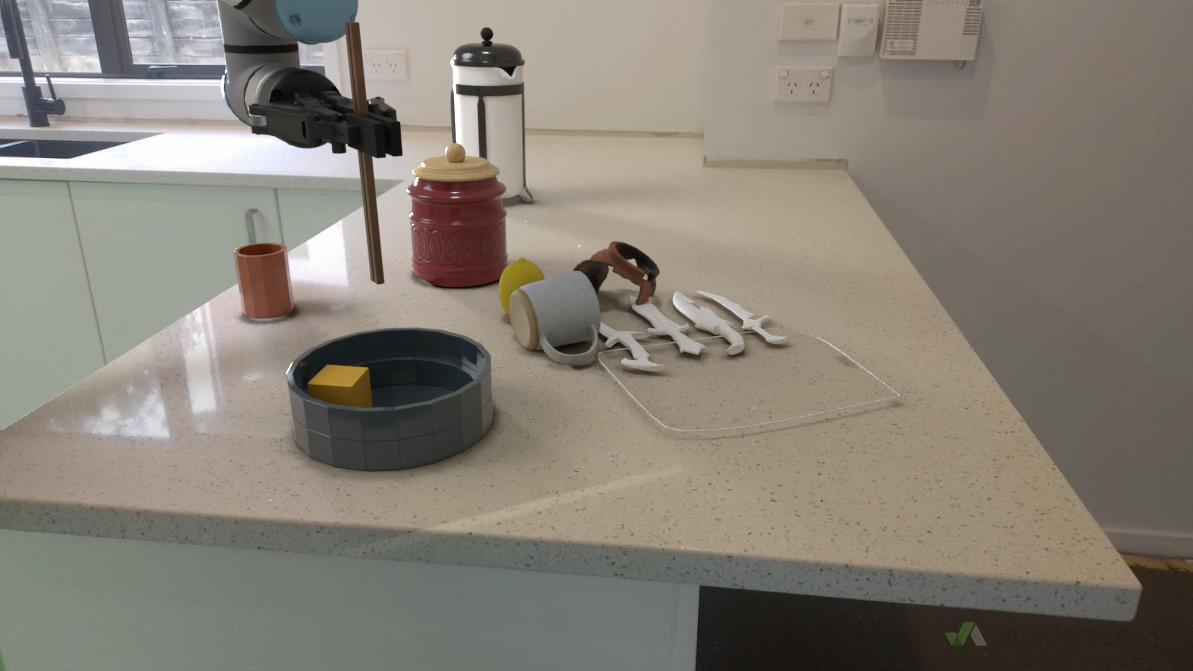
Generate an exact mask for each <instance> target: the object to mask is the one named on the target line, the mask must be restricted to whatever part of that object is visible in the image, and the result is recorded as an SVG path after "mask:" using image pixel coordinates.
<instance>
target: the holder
mask: <svg viewBox="0 0 1193 671" xmlns="http://www.w3.org/2000/svg"><path fill="white" fill-rule="evenodd" d="M287 248H288V247H287V246H285V244H283V243H277V242H256V243H248V244H244V245H242V246H239V247H236V248H235V249H234V250H233V252H232V253H233V254H232V255H233V259H234V265H235V272H236V273H235V274H236V278H237V284H238V285H237V286H238V292H239V298H240V303H241V311H242V313H243V315H244V316H246V317H248V318H252V319H270V318H271V319H272V318H277V317H281V316H284V315H287V314H289V313H291V312H292V311H293V310H294V308H295V301H294V292H293V285H292V277H291V270H290V263H289V255H288V254H289V253H288V249H287Z"/></svg>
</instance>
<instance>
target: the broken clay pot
mask: <svg viewBox="0 0 1193 671" xmlns="http://www.w3.org/2000/svg"><path fill="white" fill-rule="evenodd" d="M631 260H634V261H635V264H636V265H635V264H633V263H632V262H630V261H631ZM610 267H611V268H612V270H611V271H612V273H614V274H616V275H618V276H620V277H621V278H622V279H625V280H627V281H629V282H630V283H632V284H633V285H635V286H638V287H639V293H638V295H637V297H636V298H637V299H636V304H637V305H641V304H644V303H646V302H648V303H649V300H650V298H652V297H653V296H654V294H655V292H656V291H657V280H656V279H657V277H658V276H659V275H660V273H661V271H660V269H659V267H658V265H657V263H656V262H655V261H654V260H653V259H652V257H650V256H649V255H648V254H646V253H645V252H644V251H643V250H641V249H639V248H637V247H636V246H634V245H632V244H630V243H627V242H623V241H618V240H612V241H611V242H610V243H609V245H608V247H606V248H602V249H600V250H598V251H597V252H595V253H594V254H592V255H591V257H590V258H589V259H584V260H582V261H581V262H579V263H578V264H576V266H575V267H574V268H573V269H572V271H580V272H582V273H583V274H585V275H586V276H587V278H588V279H589V281H590V282H591V284H592V286H593V288H594V290H595V292H596V296H597V297H598V294H599V292H600V288H601V287H602V285H603V283H604V282H605V281H606V279H607V277H608V275H609V271H610ZM645 276H646V279H645V278H644V277H645Z"/></svg>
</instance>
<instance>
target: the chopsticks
mask: <svg viewBox="0 0 1193 671" xmlns="http://www.w3.org/2000/svg"><path fill="white" fill-rule="evenodd" d="M344 24H345V42H346V53H347V61H348V70H349V80H350V81H349V82H350V91H351V99H352V101H353V111H354V114H358V115H361V116H364V117H367V118H368V108H367V99H368V98H367V88H366V78H365V68H364V58H363V47H362V36H361V28H360V22H359V21H355V22H345V23H344ZM357 158H358V159H357V160H358V168H359V177H360V187H361V199H362V208H363V216H364V225H365V235H366V246H367V255H368V263H369V264H368V265H369V274H370V281H371V282H372V283H375V285H378V286H379V285H384V284H385V274H384V272H385V271H384V265H383V264H384V263H383V254H382V253H383V252H382V244H381V243H382V242H381V234H380V233H381V232H380V224H379V222H380V221H379V212H378V202H377V201H378V200H377V191H376V182H375V181H376V180H375V170H374V161H373V157H372V156H370V155H368V154H365V153H363V152H361V151H358V150H357Z"/></svg>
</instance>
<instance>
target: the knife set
mask: <svg viewBox="0 0 1193 671" xmlns="http://www.w3.org/2000/svg"><path fill="white" fill-rule="evenodd" d="M696 293H698V294H700V295H702V296H704V297H706V298H709V299H711V300H713V301H715V302H717V303H719V304H720V305H721V306H723V307H725V308H726V309H728V310H729V311H730V312H732V313H733V314H734V315H736V317H738V318H739V319H741V320H742V321H743V323H742V326H741V329H742V330H747V331H743V332H738V331H737V330H735V329H734V328H732V327H733V323H732V322H731V321H728V320H726V319H723V318H721V317H719V316H718V315H717V313H716V312H715V310H712V309H711V308H710V307H704V306H698V304H697V302H695V301H693V300H692V299H690V298H689V297H688V296H686V295H685V294H683V293H682V292H681V290H675V292H674V295H673V297H672V303H673V305H674V307H675V308H676V309H677V310H678V311H679V312H680V313H681V314H682V315H684V316H685V317H686V318H688V319H689V320H690V321H692V322H693V323H694V327H695V328H696V329H699V330H702V331H706V332H709V333H711V334H714V336H707V337H701V338H693V339H691V338H690V337H688V336H687V335H685V334H684V333H685V332H686V331H687V330H689V328H690V324H689V323H688V322H686V323H685V324H683V325H682V324H678V323H676V322H675V321H673V320H671V319H669V318H668V317H666V316H665V315H663V314H662V313H661V311H660V310H659V308H657V306H656V305H654V304H653V303H650V302H649V301H648V302H646V303H644V304H641V305H637V304H636V299H637V298H638V297H635V296H632V295H630V296H629V303H630V306H631V309H632V310H633V311H634V312H636V313H637V314H639V315H640V316H642V317H643V318H644V319H646V320H647V321H649V323H650V324H651V325H652V326H653V327H648V328H647V329H646V330H645V331H646V332H641V331H635V330H620V331H619V330H617V329H614V328H612V327H610V326H608V325H607V324H606V323H604V322H603V321H601V325H600V330H599V334H600V335H602V336H603V337H605V338H607V339H606V341H605V343H604V345H605V347H606V348H612V346H614V345H615V344H617V343H620V344H622V345H623V346H624V348H617V349H610V350H606V351H604V353H607V352H609V353H610V352H617V351H623V350H629V351H630V352H631V354H632V358H633V359H629V358H627V357H624V358H622V359H621V360H620V363H621V364H622V365H623V366H625V367H628V368H631V369H635V370H640V371H645V372H646V371H647V372H662V371H663V370H665V369H666V366H665V365H663V364H659V363H657V362H652V361H650V360H649V357H650V356H651V355H650V354H649V353H648V352H647V351H646V349H645V348H648V347H656V346H663V345H674V344H676V345H677V346H678V347H679V352H680V354H683V353H684V352H685V353H688V354H692V355H697V356H699V355H700V353H701V351H705V350H706V349H707V346H706V345H705V344H703V343H700V342H697V341H702V340H709V339H710V340H711V339H717V338H723V339H725V340H726V341H727V342H729V343H730V346H728V348H727V349H726V350H725V352H726V353H727V354H728V355H731V356H734V355H737V354H739V353H741V352H742V351H743V350H744V349H745V347H746V343H745V340H744V338H743V336H742V335H743V334H750V333H758V334H759V335H760V336H762V337H763V338H764V339H765V341H766V342H767V343H770V344H773V345H775V344H776V345H779V344H784V343H785V342H786V341H787V340H788V336H782V335H772V334H771V333H769V332H768V331H771V330H772V331H773V330H785V331H793V332H798V333H803V334H804V332H803V331H800V330H796V329H793V328H788V327H772V328H762V326H763V324H762V323H763V322H765V321H767V320H769V319H770V315H768V314H765V315H764V316H762V317H759V318H755V319H752V318H753V317H755V313H752V312H750V311H748V310H746V309H745V308H743V307H742V305H741V304H738V303H735V302H733V301H731V300H729V299H728V298H727V297H726V296H722V295H717V294H714V293H711V292H708V291H703V290H697V291H696ZM698 307H699V308H698ZM651 335H652V336H653V335H654V336H670V337H671V338H672V340H673V341H671V342H664V343H663V342H662V343H656V344H655V343H653V344H647V345H641V344H640V343H639V342H638V341H637V340H636V339H641V340H642V339H646V338H649V337H650V336H651ZM805 335H809V336H811V337H813V338H816V339H818V340H820V341H822V342H823V343H824V344H825V343H826V344H827V345H829V346H830V347H831V348H833V349H835V350H836V351H838V352H839V353H840V354H842V355H844V356H845V357H846V358H848V360H850V361H852V362H853V363H854V364H856V365H857V366H858V367H860V368H861V369H863V370H864V371H865V372H866V373H868V374H869V375H870V376H872V377H873V378H875V379H876V380H877V381H878V382H880V383H881V384H882V385H884V386H885V387H886V388H888V389H889V390H890V391H892V392H893V393H894V394H895V395H896V396H891V397H887V398H882V399H878V400H872V401H869V402H868V401H867V402H864V403H858V404H854V405H849V406H845V407H844V406H843V407H840V408H835V409H829V410H826V411H821V412H816V413H811V414H806V415H800V416H795V417H790V418H785V419H780V420H775V421H774V420H773V421H767V422H761V423H755V424H748V425H740V426H731V427H722V428H721V427H720V428H712V429H679V428H673V427H668V426H667V425H665V424H664V423H663V422H661V421H660V420H659V419H657V418H656V417H654V416H653V415H652V414H651V412H649V411H648V410H647V409H646V408H645V407H644V405H643V404H642V403H640V401H639V400H638V399H636V397H635V396H634V395H633V394H632V393H631V392H630V391H629V390H628V389H627V388H626V386H624V385H623V383H622V382H621V381H620V380H619V379H618V378H617V377H616V376H615V375H614V374H613V372H612V371H611V370H610V369H609V368H608V367H607V366H606V364H604V362H603V361H602V360H601V359H600V354H602V353H603V351H599V352H598V354H597V358H598V361H599V363H600V364H601V365H602V366H603V368H604V369H605V370H606V371H607V372H608V373H609V374H610V375H611V377H613V378H614V380H615V381H616V382H617V383H618V384H619V385H620V387H622V388H623V390H624V391H625V392H626V393H627V394H628V395H629V397H631V399H632V400H634V402H636V404H638V405H639V406H640V408H642V410H643V411H644V412H645V413H646V414H647V415H648V416H649V417H650V418H651V419H653V420H654V421H655V422H656V423H657V424H659V425H660V426H662V427H664V428H665V429H666V430H669V431H674V432H680V433H705V432H718V431H719V432H720V431H729V430H739V429H747V428H753V427H761V426H766V425H772V424H779V423H784V422H789V421H794V420H799V419H805V418H810V417H815V416H819V415H824V414H829V413H835V412H838V411H843V410H848V409H853V408H857V407H862V406H867V405H871V404H877V403H882V402H886V401H889V400H894V399H900V398H901V394H899V393H898V392H897V391H896V390H894V389H893V388H892V387H890V386H889V385H888V384H886V383H885V382H884V381H883V380H881V379H880V378H878V377H877V376H876V375H875V374H873V373H872V372H871V371H869V370H868V369H867V368H865V367H864V366H863V365H861V364H860V363H859V362H857V361H855V360H854V359H853V358H851V357H850V356H849V355H848V354H846V353H844V352H843V351H841V349H839V348H837V347H835V345H833V344H832V343H830V342H828V341H826V340H825V339H822V338H820V337H818V336H816V335H813V334H809V333H807V332H805Z"/></svg>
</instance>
